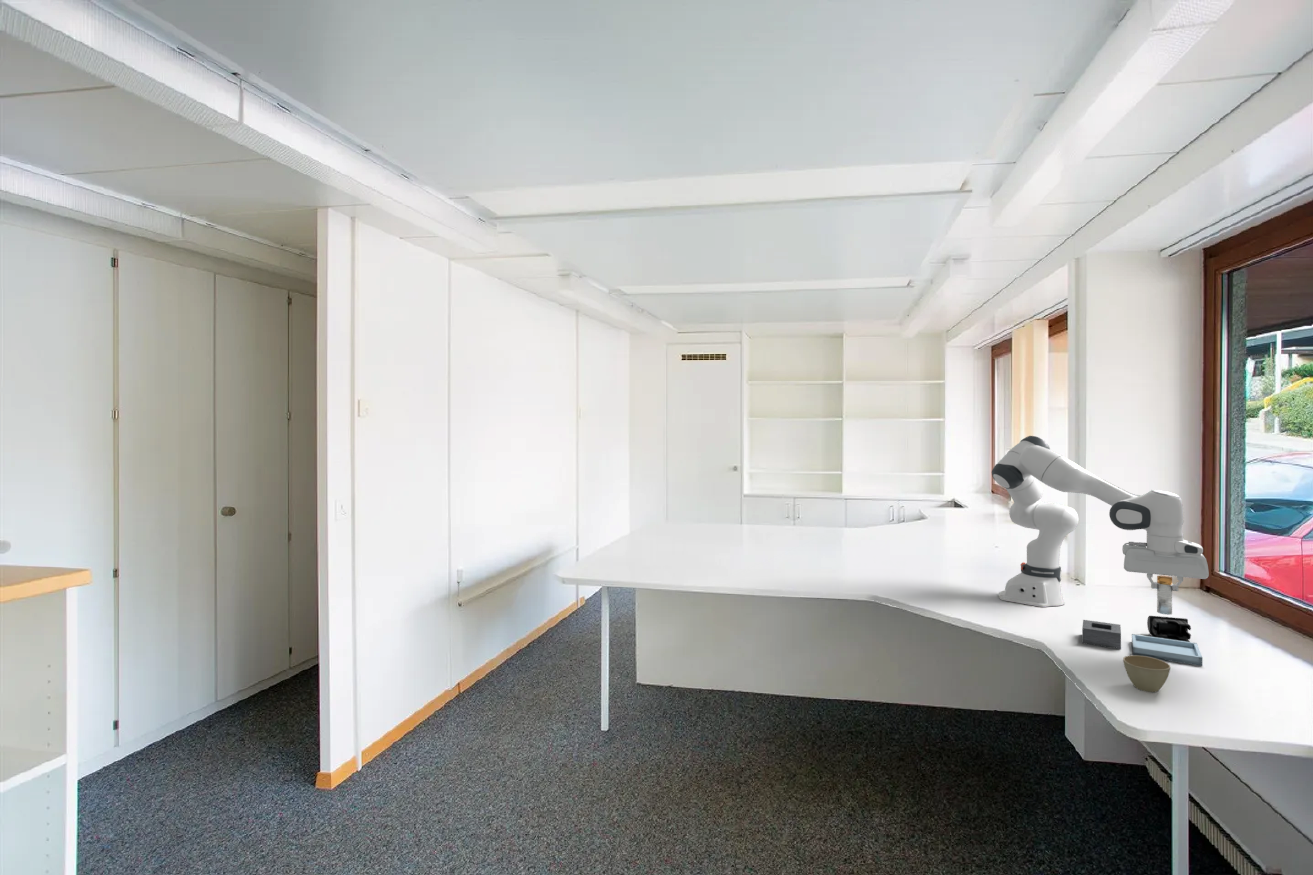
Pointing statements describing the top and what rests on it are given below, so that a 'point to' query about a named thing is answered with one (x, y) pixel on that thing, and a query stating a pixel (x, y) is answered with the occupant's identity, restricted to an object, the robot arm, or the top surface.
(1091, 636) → the socket block
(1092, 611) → the top surface
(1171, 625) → the end cap
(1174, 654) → the tray
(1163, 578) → the gold and grey cylinder
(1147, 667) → the olive bowl
